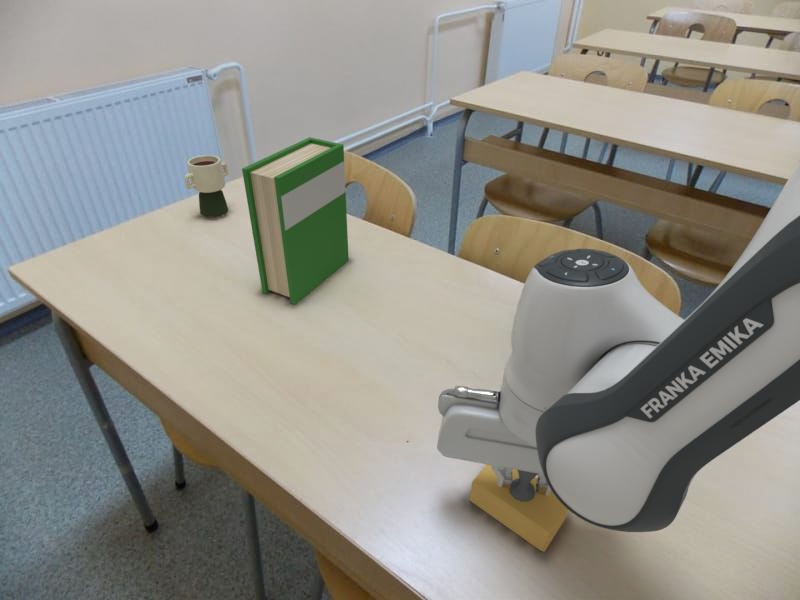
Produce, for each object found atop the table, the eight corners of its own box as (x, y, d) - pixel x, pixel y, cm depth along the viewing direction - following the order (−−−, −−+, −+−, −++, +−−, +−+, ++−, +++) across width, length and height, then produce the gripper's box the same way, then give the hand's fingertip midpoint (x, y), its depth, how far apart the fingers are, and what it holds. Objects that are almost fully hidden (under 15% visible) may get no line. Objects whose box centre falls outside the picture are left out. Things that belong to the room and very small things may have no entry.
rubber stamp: (566, 517, 60) (590, 451, 53) (543, 554, 57) (565, 489, 50) (493, 469, 66) (506, 404, 58) (467, 501, 62) (478, 435, 55)
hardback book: (294, 304, 93) (278, 178, 79) (262, 292, 96) (241, 168, 82) (348, 260, 106) (343, 144, 92) (319, 251, 108) (309, 137, 94)
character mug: (224, 202, 126) (214, 150, 119) (243, 210, 123) (234, 157, 115) (185, 217, 119) (172, 163, 112) (204, 227, 116) (191, 171, 108)
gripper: (435, 407, 49) (428, 492, 58) (661, 444, 46) (620, 529, 54) (444, 363, 54) (436, 447, 63) (648, 394, 51) (612, 478, 59)
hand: (523, 486), depth 58 cm, fingers closed on rubber stamp, 3 cm apart
